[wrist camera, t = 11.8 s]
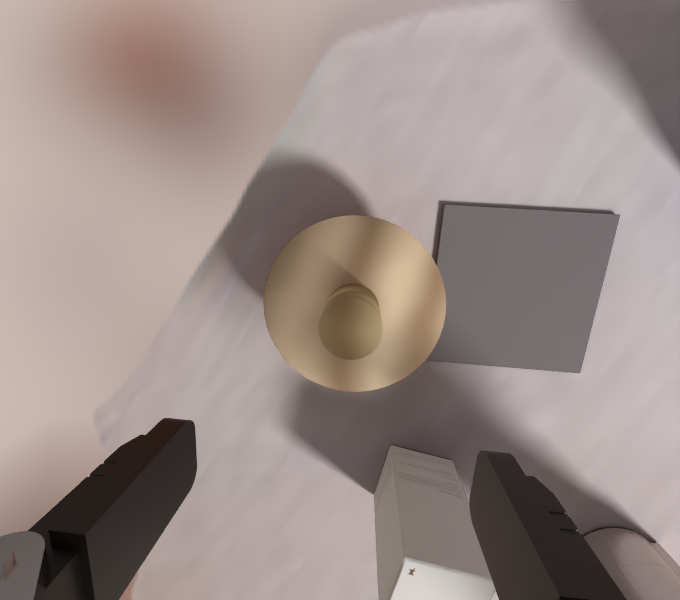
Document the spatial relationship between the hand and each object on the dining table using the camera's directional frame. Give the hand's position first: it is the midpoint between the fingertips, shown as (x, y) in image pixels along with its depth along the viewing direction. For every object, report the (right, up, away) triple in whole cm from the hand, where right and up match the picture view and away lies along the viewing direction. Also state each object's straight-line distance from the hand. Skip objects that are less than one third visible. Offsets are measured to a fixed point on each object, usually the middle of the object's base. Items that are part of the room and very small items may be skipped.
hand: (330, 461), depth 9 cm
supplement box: (+8, -15, +28) cm, 33 cm away
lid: (+1, +4, +17) cm, 18 cm away
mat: (+17, +5, +22) cm, 28 cm away
